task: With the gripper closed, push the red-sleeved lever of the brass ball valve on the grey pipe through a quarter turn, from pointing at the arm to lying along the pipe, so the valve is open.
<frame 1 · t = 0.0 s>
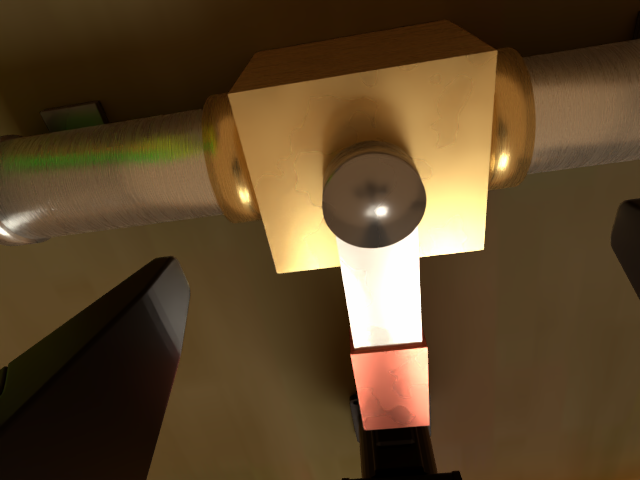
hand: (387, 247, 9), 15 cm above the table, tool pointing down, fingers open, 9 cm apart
valve: (358, 119, 22), on the table
lever: (383, 311, 19), point 8 cm above the table, hinge at 0.0°
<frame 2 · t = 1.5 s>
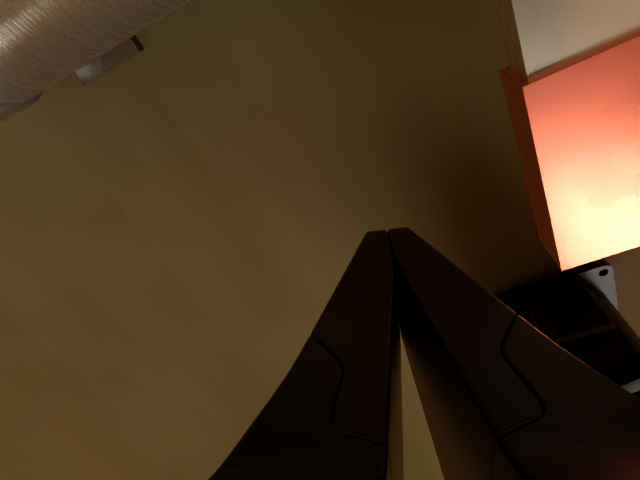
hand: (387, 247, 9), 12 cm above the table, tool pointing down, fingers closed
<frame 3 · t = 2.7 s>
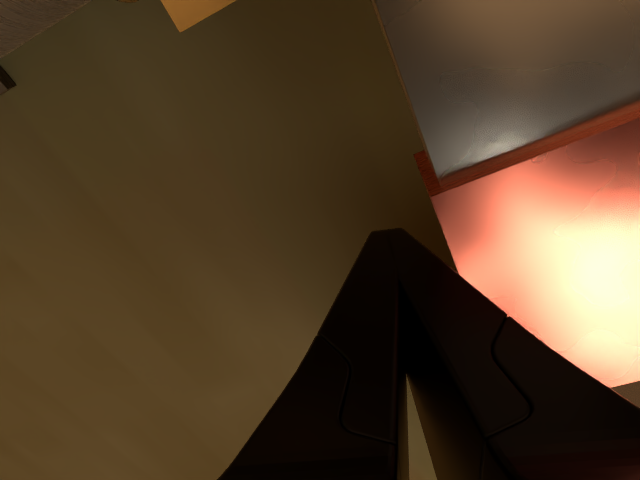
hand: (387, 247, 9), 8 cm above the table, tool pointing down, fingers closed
lever: (503, 27, 6), point 8 cm above the table, hinge at 0.1°, touching gripper
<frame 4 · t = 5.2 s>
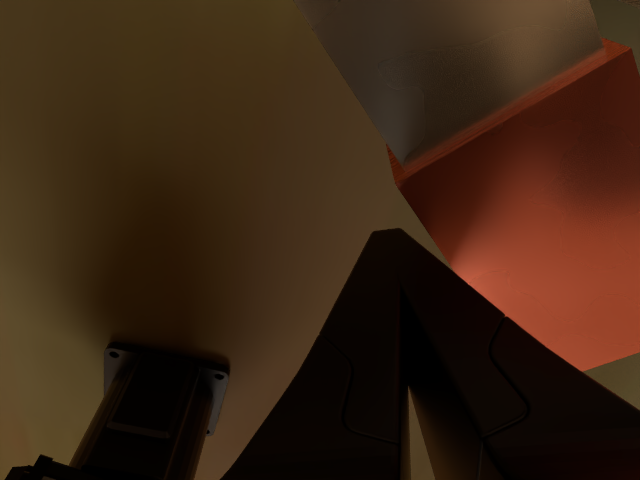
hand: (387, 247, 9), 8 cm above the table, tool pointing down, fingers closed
lever: (437, 7, 6), point 8 cm above the table, hinge at 51.9°, touching gripper
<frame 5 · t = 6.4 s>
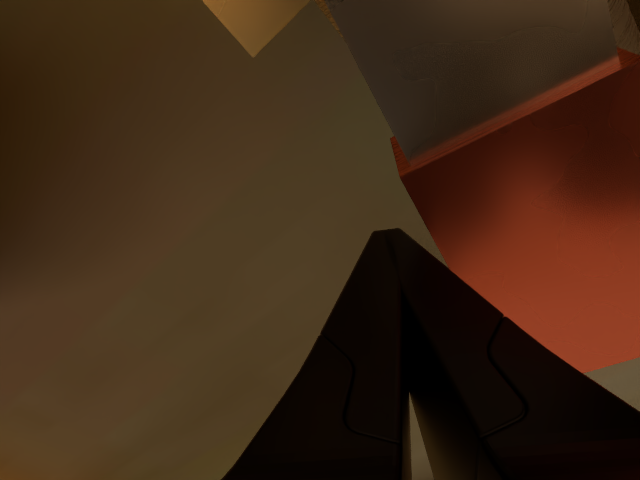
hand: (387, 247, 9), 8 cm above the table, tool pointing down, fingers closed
lever: (455, 1, 6), point 8 cm above the table, hinge at 80.2°, touching gripper
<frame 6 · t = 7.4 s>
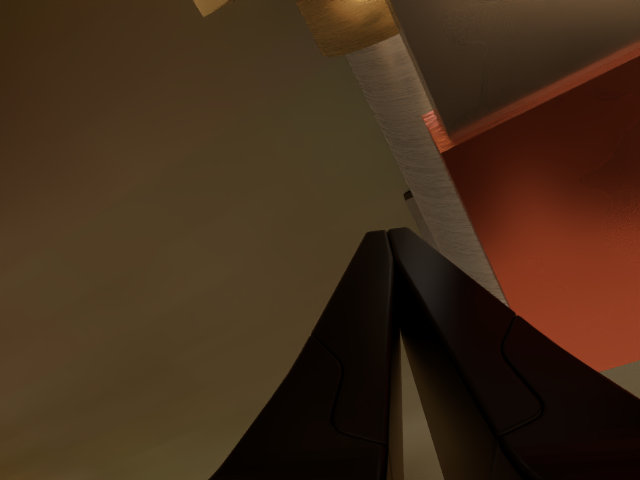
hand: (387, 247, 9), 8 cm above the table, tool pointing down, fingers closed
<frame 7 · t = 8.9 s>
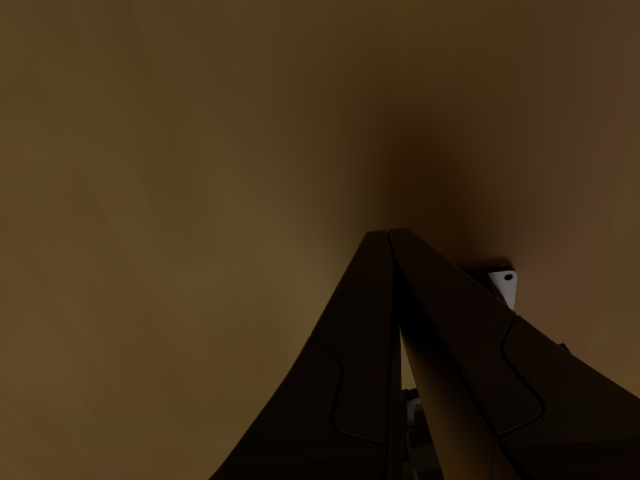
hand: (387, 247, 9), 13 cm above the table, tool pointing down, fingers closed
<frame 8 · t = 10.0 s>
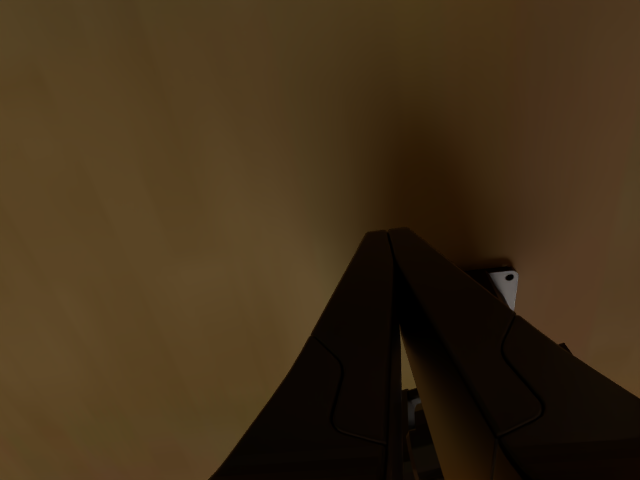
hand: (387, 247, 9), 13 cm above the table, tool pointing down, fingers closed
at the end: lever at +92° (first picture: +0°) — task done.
